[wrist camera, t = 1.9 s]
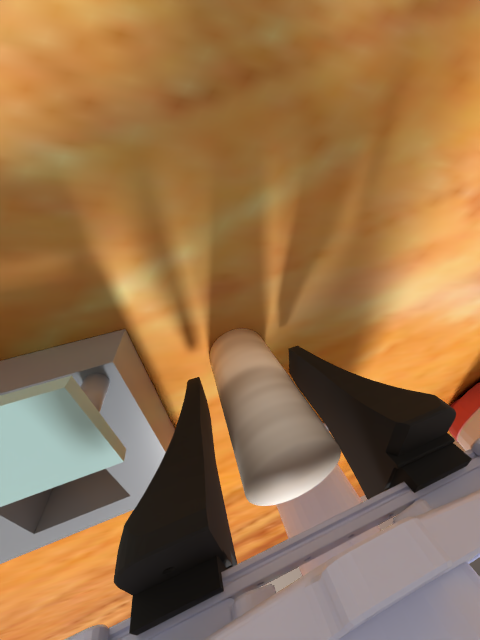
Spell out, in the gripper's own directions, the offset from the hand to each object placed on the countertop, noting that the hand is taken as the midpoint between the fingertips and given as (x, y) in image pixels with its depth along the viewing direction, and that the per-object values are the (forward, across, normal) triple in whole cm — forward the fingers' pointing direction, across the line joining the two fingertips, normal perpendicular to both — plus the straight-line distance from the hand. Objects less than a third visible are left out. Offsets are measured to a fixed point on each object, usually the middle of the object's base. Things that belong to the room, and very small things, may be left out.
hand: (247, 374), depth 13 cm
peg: (+2, 0, 0) cm, 2 cm away
